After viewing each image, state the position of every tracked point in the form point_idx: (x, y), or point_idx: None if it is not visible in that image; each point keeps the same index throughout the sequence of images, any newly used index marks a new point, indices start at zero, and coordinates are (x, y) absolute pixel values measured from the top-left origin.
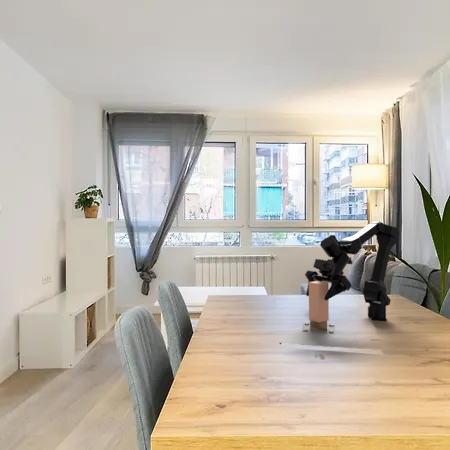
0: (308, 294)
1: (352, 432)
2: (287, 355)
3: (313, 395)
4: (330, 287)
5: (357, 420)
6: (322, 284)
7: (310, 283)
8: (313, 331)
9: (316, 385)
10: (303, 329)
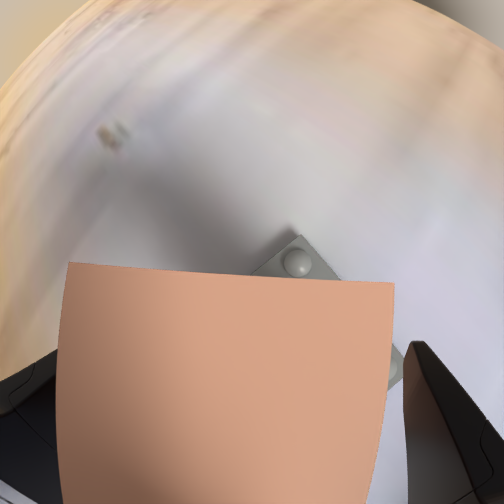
0: (407, 369)
1: (26, 59)
2: (178, 74)
3: (67, 52)
4: (22, 396)
5: (23, 71)
6: (69, 372)
7: (325, 286)
8: None
9: (71, 65)
10: (307, 256)
